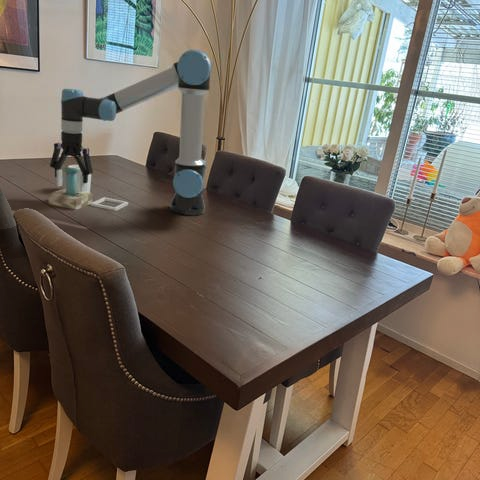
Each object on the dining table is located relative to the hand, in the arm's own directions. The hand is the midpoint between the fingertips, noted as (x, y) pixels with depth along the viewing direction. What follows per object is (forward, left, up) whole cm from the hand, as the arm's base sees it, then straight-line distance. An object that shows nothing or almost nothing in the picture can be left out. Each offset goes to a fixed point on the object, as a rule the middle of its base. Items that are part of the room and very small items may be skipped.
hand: (71, 188), depth 178 cm
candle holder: (+6, -16, -7) cm, 19 cm away
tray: (-13, -8, -7) cm, 17 cm away
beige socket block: (0, 0, -7) cm, 7 cm away
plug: (0, 0, -6) cm, 6 cm away
